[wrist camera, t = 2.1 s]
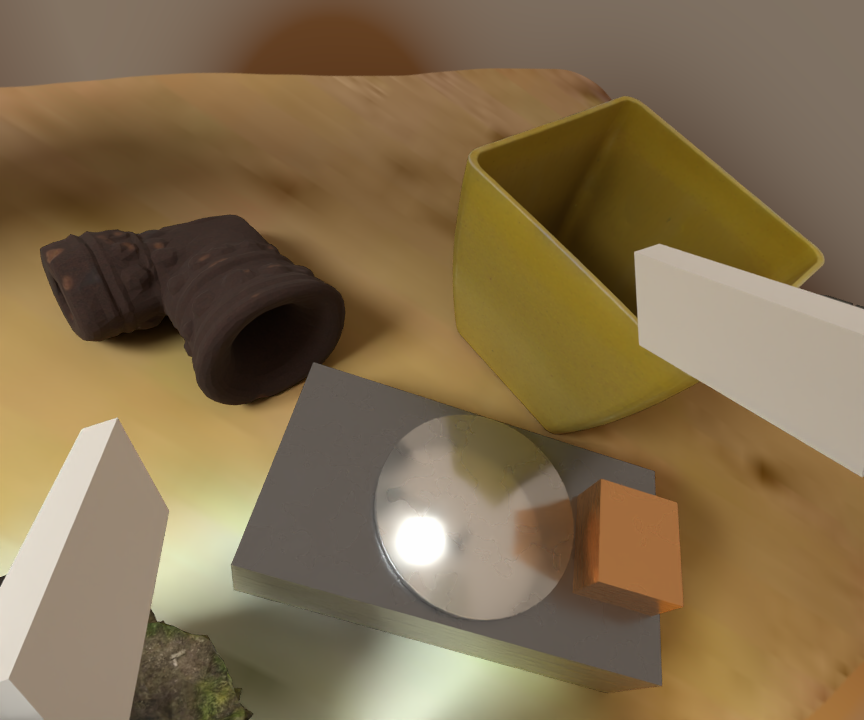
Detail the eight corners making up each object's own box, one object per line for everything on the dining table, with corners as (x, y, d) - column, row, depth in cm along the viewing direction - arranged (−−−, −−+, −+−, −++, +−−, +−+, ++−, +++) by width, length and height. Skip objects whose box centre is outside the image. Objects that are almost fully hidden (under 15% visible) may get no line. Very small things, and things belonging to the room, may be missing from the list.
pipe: (15, 203, 35) (116, 352, 29) (238, 158, 44) (354, 267, 37) (58, 318, 42) (147, 459, 36) (243, 260, 51) (343, 366, 44)
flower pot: (684, 379, 53) (833, 255, 39) (558, 495, 43) (701, 383, 29) (542, 242, 58) (631, 92, 44) (401, 318, 48) (460, 153, 34)
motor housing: (233, 589, 34) (229, 549, 26) (306, 406, 41) (317, 335, 34) (606, 692, 36) (696, 681, 29) (609, 501, 44) (681, 453, 36)
